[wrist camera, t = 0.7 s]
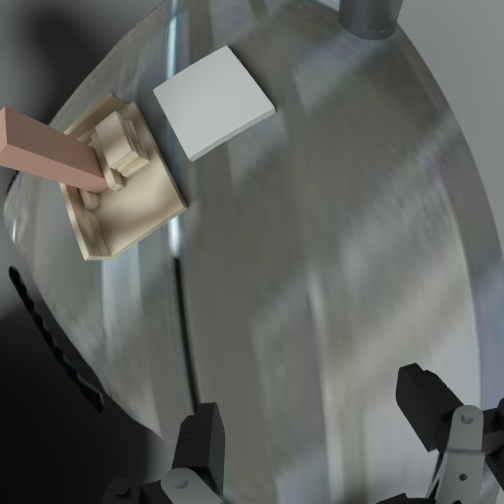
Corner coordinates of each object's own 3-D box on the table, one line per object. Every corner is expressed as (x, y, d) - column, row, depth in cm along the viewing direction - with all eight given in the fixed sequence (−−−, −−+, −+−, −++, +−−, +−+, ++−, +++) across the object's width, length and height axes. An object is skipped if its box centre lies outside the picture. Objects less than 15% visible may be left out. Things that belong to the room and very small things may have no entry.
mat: (156, 94, 41) (152, 90, 40) (228, 50, 39) (226, 45, 38) (192, 161, 40) (188, 158, 38) (275, 112, 38) (274, 107, 36)
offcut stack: (111, 136, 41) (94, 127, 36) (131, 121, 40) (115, 109, 36) (128, 177, 40) (110, 170, 35) (149, 161, 39) (133, 152, 35)
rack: (75, 156, 44) (50, 145, 37) (137, 105, 42) (116, 87, 35) (112, 259, 42) (84, 260, 35) (188, 208, 40) (166, 200, 33)
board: (88, 163, 41) (-10, 124, 22) (101, 151, 41) (4, 105, 21) (98, 193, 41) (-8, 163, 21) (113, 182, 40) (7, 143, 21)
